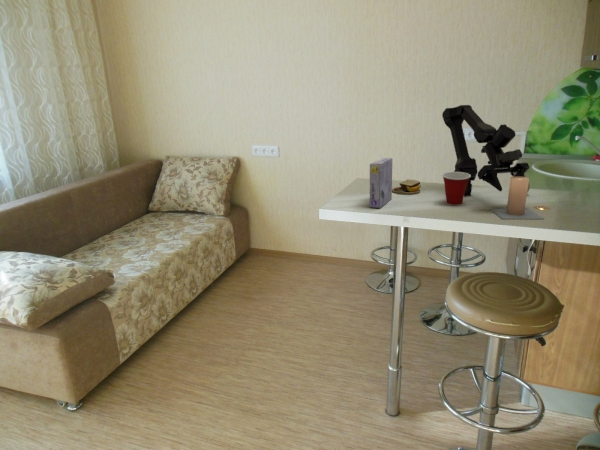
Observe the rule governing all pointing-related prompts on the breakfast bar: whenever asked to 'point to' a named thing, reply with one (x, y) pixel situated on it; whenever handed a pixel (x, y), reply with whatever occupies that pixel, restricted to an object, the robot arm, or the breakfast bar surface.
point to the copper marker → (542, 207)
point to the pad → (527, 216)
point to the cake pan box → (380, 182)
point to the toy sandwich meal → (408, 187)
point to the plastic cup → (455, 186)
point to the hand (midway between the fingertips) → (512, 189)
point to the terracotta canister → (517, 195)
